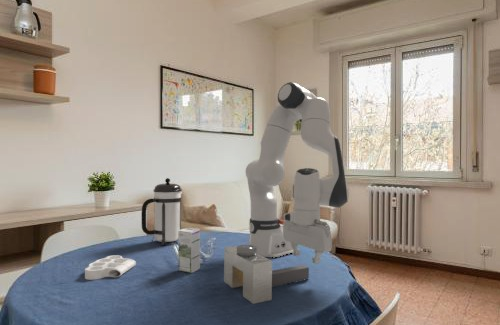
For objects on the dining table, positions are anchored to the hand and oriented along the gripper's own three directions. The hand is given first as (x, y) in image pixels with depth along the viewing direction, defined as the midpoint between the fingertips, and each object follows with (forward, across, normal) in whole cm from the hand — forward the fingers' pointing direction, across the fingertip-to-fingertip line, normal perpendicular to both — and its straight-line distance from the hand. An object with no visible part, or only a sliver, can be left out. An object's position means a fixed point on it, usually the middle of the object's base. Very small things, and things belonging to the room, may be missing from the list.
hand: (305, 259), depth 115 cm
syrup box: (+7, +28, +29) cm, 41 cm away
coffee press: (+7, +70, +23) cm, 74 cm away
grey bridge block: (+7, +2, +22) cm, 23 cm away
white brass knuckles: (+8, +42, +53) cm, 69 cm away
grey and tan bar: (+7, +1, +10) cm, 12 cm away
